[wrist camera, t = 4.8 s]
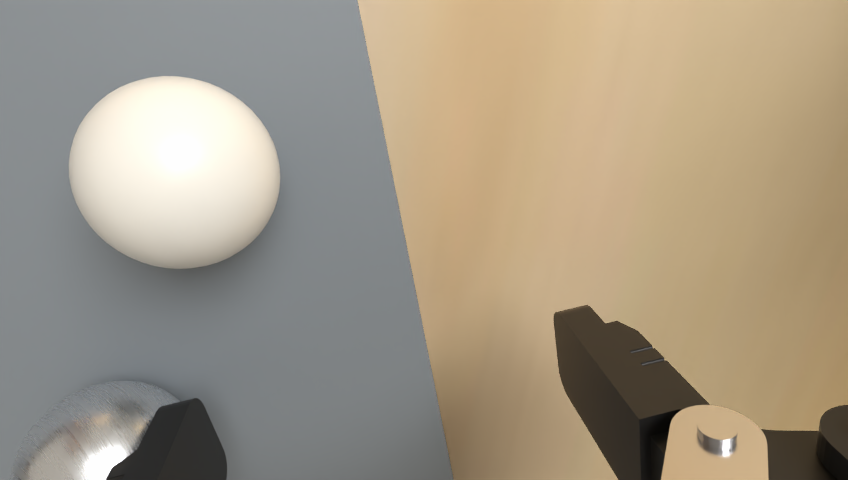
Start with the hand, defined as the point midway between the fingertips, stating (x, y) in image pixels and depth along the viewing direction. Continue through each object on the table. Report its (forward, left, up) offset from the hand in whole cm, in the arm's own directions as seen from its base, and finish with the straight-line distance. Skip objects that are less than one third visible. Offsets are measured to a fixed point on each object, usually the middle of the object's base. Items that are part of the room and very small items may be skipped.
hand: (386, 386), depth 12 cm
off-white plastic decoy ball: (+3, -6, 0) cm, 6 cm away
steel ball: (+6, 0, 0) cm, 6 cm away
